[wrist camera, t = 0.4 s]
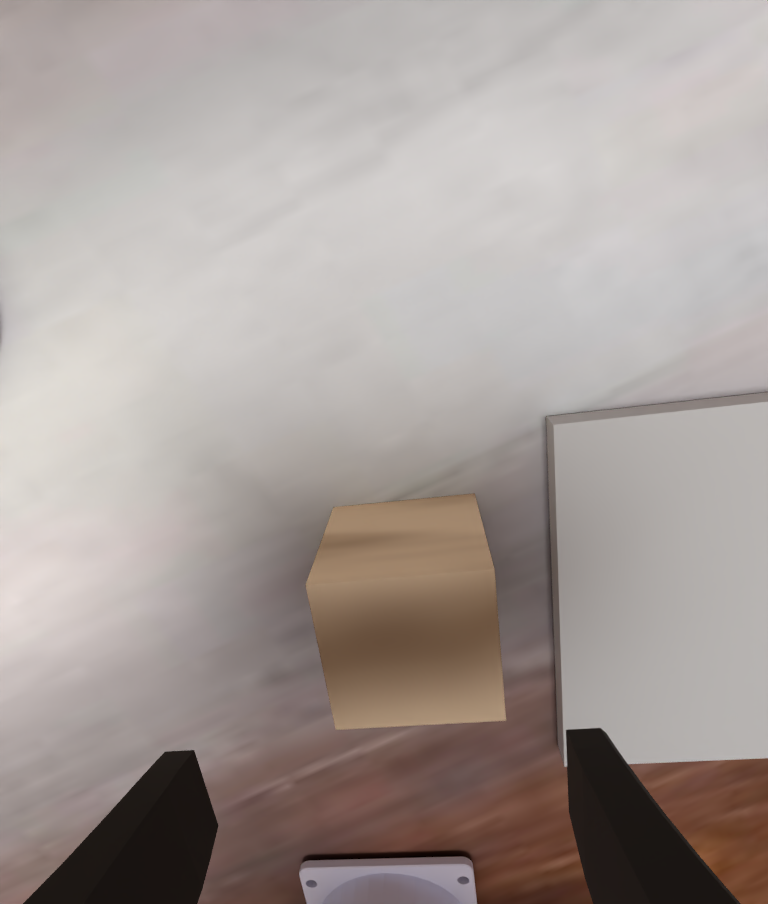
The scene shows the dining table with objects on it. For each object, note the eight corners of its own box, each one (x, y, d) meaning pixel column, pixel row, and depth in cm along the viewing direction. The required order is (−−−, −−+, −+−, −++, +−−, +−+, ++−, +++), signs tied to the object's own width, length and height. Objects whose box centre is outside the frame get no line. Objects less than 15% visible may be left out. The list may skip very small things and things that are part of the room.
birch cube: (484, 613, 20) (505, 720, 15) (354, 623, 20) (335, 729, 15) (474, 492, 18) (494, 569, 13) (333, 506, 19) (305, 584, 14)
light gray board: (931, 727, 20) (957, 750, 19) (557, 744, 21) (564, 766, 20) (1023, 364, 16) (1063, 369, 15) (545, 416, 17) (553, 425, 16)
